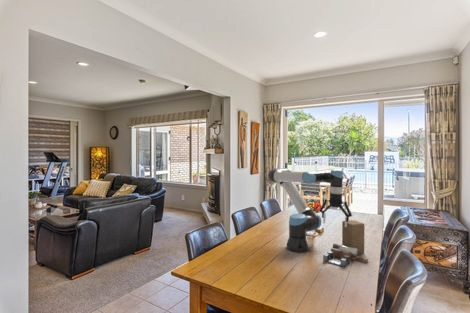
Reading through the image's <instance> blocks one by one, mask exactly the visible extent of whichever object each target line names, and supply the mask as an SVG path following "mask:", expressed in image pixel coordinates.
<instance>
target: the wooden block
mask: <svg viewBox="0 0 470 313" xmlns="http://www.w3.org/2000/svg"><path fill="white" fill-rule="evenodd" d="M341 226H342V228H341V230H342V233H341V234H342V235H341V237H342V238H341V239H342V240H341V241H342V244H341V245H344V246H348V247H353V248H357V250H358V253H357V255H360V254H365V223H364V222H362V221H361V222H360V221H357V220H354V219H353V220H349V221H348V222H347V226H346V227H345V220H342V225H341Z"/></svg>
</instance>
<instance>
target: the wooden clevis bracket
mask: <svg viewBox="0 0 470 313" xmlns="http://www.w3.org/2000/svg"><path fill="white" fill-rule="evenodd" d="M330 251H331V252H333V257H335V258H339V259H342V258H344V256H345V255H348V256H350V262H351V261H352V260H353V261H357V262H361V263H364V264H368V263H369V258H368V257H363V256H359V255H357V256H356V257H355V256H351V252H348V251H344V250H340V249H335V248H333V247H331V248H330Z"/></svg>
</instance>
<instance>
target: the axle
mask: <svg viewBox="0 0 470 313" xmlns="http://www.w3.org/2000/svg"><path fill="white" fill-rule="evenodd" d="M332 248H335V249H340V250H344V251H348V252H351V256H355V257H356V256H358V254H357V253H358V250H357V248H353V247H348V246H344V245H342V244H338V243H333V244H332Z"/></svg>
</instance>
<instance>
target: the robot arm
mask: <svg viewBox="0 0 470 313" xmlns="http://www.w3.org/2000/svg"><path fill="white" fill-rule="evenodd" d="M343 173H344V171H343V170H342V169H335V168H334V169H331V170H330V171H324V170H317V171H293V170H291V169H290V168H287V167H283V168H272V169H271V170H269V171H268V173H267V179H268V181H270V183H273V184H279V185H280V187H281V188H283V189H284V190H285V192H286V194H287V195H288V197H289V199H290V201H291V203H292V204H293V206H294V208H295V209H296V211H297V213H294V214H290V216H289V219H288V239H287V242H286V249H287V250H288V251H290V252H293V253H294V252H295V253H305V252H308V251H309V248H310V246H309V242H308V240H307V232H312V231H317V230H318V229H319V228H321V226H322V222H323V224H325V223H326V216H327V211H328V209H330V208H331V207H332V208H339V209H340V211H342V213H343V214H344V215H345V216H344V221H345V227H346V226H347V222H348V221H350V220H349V217H352V216H353V214H352V212H351V209H350V207H349V206H348V201H347V200H346V201H343V194H342V193H343V183H344V182H343V180H344V174H343ZM296 183H302V184H307V185H312V184H321V183H327V184H329V185H330V186H329V187H330V188H329V199H328V198H325V199H324V202H323V204H322V205H321V207H320V209H319V210H318V211H319V213H321V215H319V213H316V212H315V211H314V210H313V209H312V208H309V205H307V203H306V201H305V199H304V198H303V196H302V194H301V193H300V191H299V189H298V188H297V186H296ZM328 203H329V205H328V206H327V207H326V208H325V206H326V205H327V204H328ZM343 205H344V207H345V208H344V207H343ZM323 209H324V210H323ZM345 209H346V210H345ZM322 220H323V221H322Z"/></svg>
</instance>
